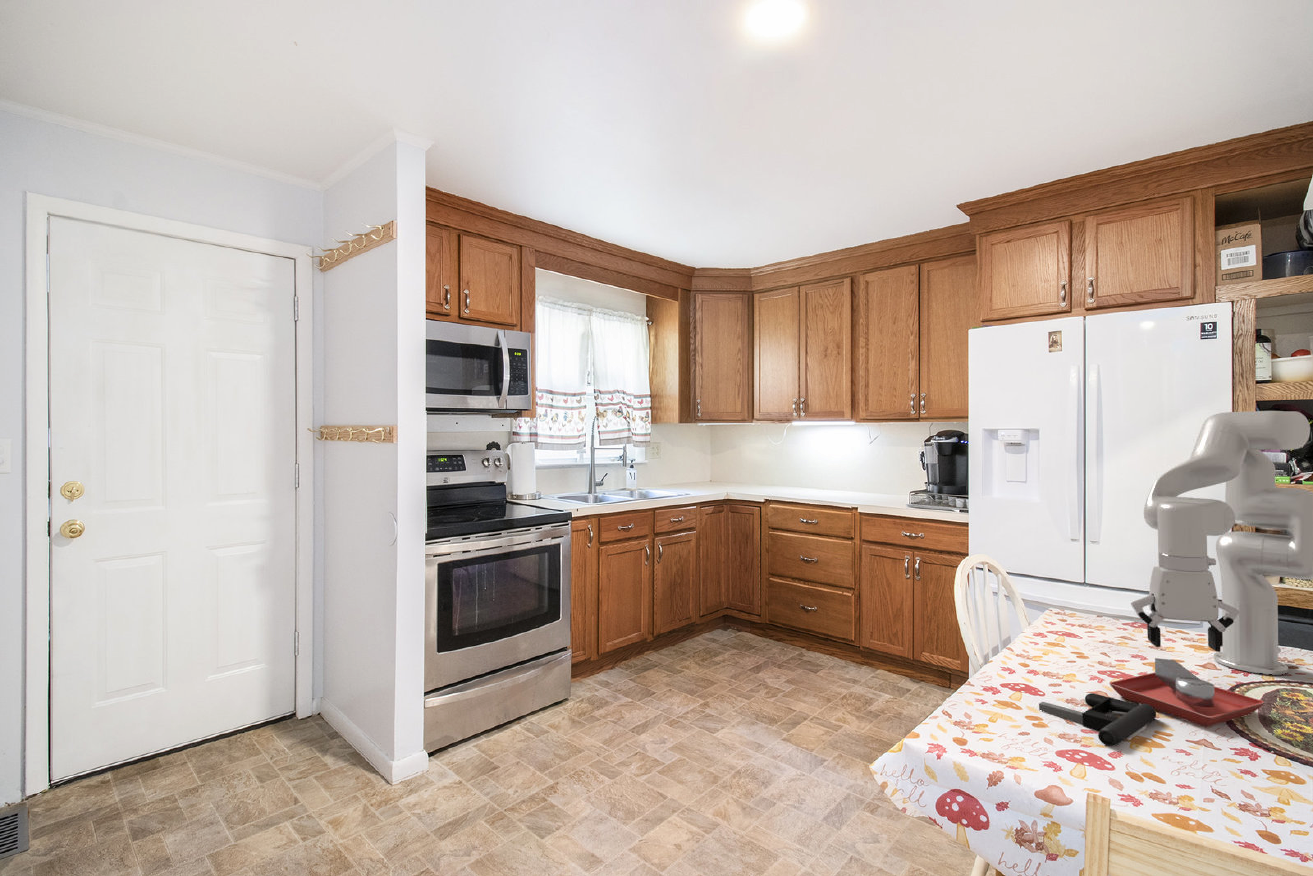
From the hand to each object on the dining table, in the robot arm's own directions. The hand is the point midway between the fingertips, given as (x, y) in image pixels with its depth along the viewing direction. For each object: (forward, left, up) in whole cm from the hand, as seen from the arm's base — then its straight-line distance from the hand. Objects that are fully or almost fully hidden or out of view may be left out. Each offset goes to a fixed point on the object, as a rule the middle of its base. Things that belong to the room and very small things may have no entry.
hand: (1184, 647), depth 123 cm
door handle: (+24, -4, -12) cm, 27 cm away
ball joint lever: (0, 0, -9) cm, 9 cm away
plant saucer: (+1, 0, -12) cm, 12 cm away
